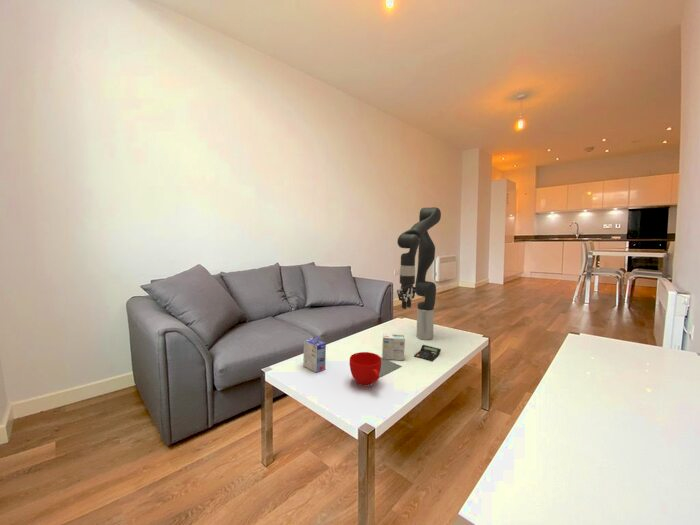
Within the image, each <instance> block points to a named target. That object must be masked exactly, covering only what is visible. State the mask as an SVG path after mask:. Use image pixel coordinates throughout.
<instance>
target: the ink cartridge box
mask: <svg viewBox="0 0 700 525" xmlns="http://www.w3.org/2000/svg"><path fill="white" fill-rule="evenodd" d="M320 338H321V337H320V336H319V335H317V334H314V335H313V337H311V338H307V339H305V340H303V367H305V368H306V369H308V370H311V371H313V372H314V373H319V372H322V371H325V370H326V357H327V356H326V350H327V349H326V346H327V343H326V342H324V341H321V340H319V339H320Z"/></svg>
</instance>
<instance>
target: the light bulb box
mask: <svg viewBox="0 0 700 525" xmlns="http://www.w3.org/2000/svg"><path fill="white" fill-rule="evenodd" d="M405 338H406V337H405V334H402V333H401V334H399V333H382V354H381V356H382V357H381V358H382V359H386V360H399V361H404V360H405V347H406V339H405Z"/></svg>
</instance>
